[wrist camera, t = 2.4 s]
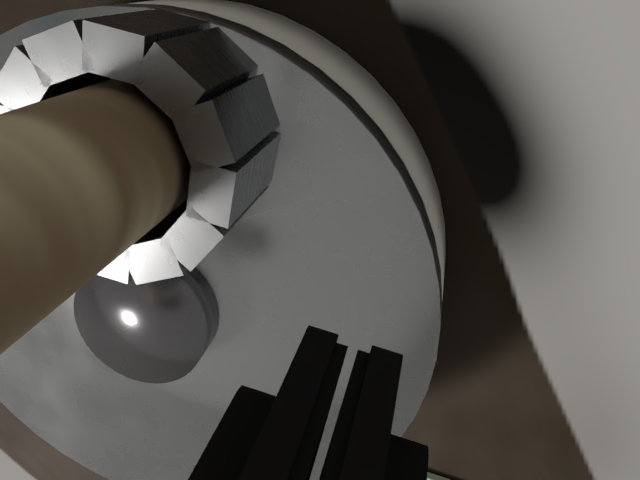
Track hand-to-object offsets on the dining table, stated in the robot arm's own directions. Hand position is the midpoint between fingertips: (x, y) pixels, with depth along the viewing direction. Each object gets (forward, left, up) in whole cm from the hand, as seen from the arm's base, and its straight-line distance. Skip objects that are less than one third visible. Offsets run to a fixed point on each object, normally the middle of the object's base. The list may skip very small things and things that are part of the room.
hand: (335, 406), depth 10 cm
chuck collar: (+6, -8, -11) cm, 15 cm away
